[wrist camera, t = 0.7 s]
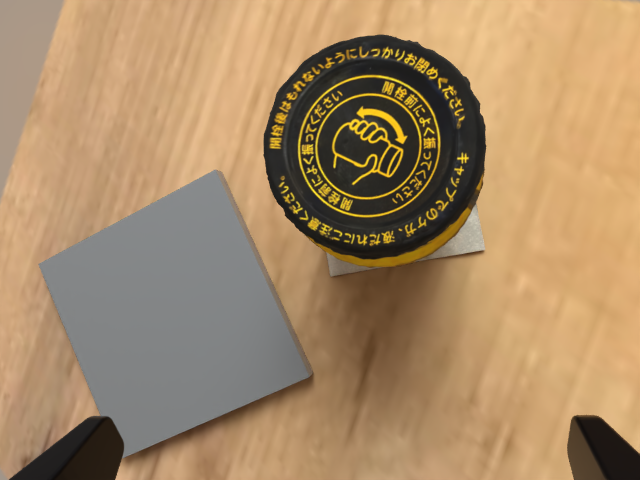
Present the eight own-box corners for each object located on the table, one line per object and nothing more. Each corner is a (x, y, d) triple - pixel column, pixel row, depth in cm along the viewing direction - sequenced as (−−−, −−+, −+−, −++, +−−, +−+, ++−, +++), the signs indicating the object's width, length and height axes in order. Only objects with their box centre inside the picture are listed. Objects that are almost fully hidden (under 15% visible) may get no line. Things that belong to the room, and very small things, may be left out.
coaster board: (313, 372, 23) (309, 376, 22) (128, 452, 25) (119, 459, 24) (221, 171, 24) (215, 169, 23) (49, 263, 26) (38, 264, 25)
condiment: (330, 276, 23) (250, 313, 11) (300, 107, 23) (190, -32, 11) (484, 249, 22) (579, 259, 10) (449, 71, 22) (501, -129, 10)
